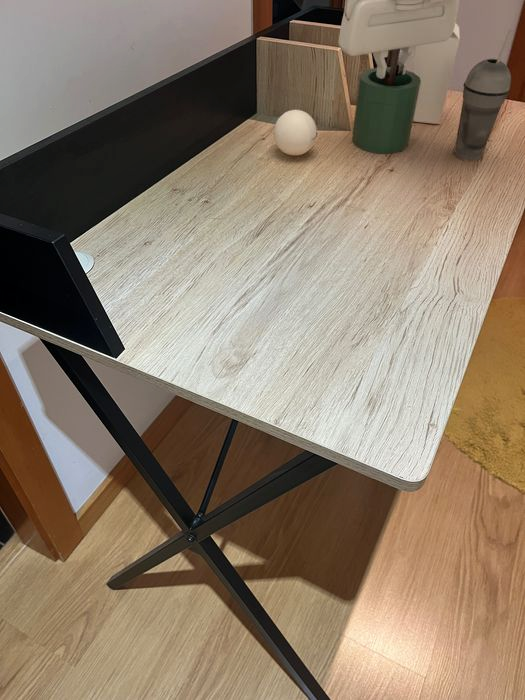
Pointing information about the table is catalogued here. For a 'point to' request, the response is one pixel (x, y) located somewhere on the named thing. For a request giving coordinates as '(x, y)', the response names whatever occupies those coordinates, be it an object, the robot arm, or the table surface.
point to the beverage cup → (481, 105)
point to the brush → (392, 66)
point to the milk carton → (434, 76)
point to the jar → (385, 112)
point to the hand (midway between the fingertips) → (390, 75)
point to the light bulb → (295, 132)
